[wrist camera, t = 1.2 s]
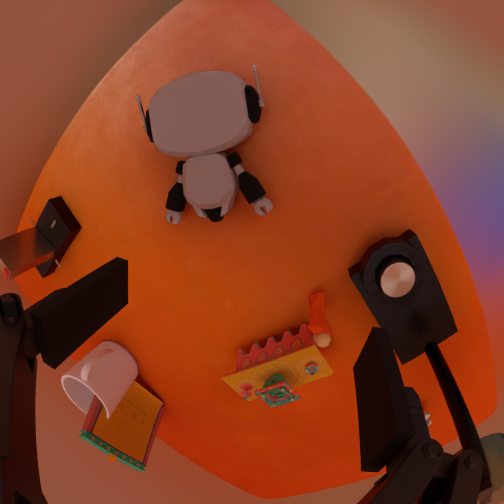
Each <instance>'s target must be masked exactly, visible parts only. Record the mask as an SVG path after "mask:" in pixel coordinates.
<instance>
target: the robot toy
mask: <svg viewBox="0 0 504 504" xmlns="http://www.w3.org/2000/svg"><path fill="white" fill-rule="evenodd" d="M253 71H254V73H255V78H256V83H257V88H258V93H259V95H258V93H257V92H256V90H255V89H254V88H253V87H252V86H249V85H247V84H246V83H245V81H244V80H243V79H242V78H240V77H239V76H237V75H235V74H232V73H230V72H226V71H202V72H193V73H189V74H186V75H184V76H182V77H180V78H177V79H175V80H173V81H171V82H169V83H168V84H166V85H165V86H163V87H162V88H160V89H159V90H158V91H157V92H156V93H155V95H154V96H153V97H152V98H151V101H150V104H149V107H148V110H147V111H146V118H145V115H144V111H143V108H142V104H141V98H140V96H139V95H138V94H137V95H136V100H137V102H138V105H139V108H140V112H141V115H142V119H143V122H144V125H145V126H143V127H144V130H145V132H146V131H147V135H148V137H149V139H150V141H151V142H153V143H155V145H156V147H157V148H158V150H159V151H160V152H162V153H164V154H166V155H169V156H174V157H193V158H189V159H188V160H187V161H186V162H185V161H179V162H178V163H177V168H176V173H177V174H179V175H178V180H177V182H176V184H175V185H174V186H173V187H172V189H171V190H170V191H169V193H168V198H167V203H166V208H167V209H168V211H167V212H166V220H167V221H168V222H169V223H171V222H172V218H173V217H174V221H173V224H178V223H180V221H181V219H182V215H181V211H184V209H185V205H186V201H187V202H188V203H190V204H191V205H192V206H193V208H194V210H195V211H196V213H197V215H198V216H200V217H203V218H205V219H206V218H207V217H209V219H210V220H211V221H213V222H218V221H221V220H222V219H223V217H224V214H226V213H227V212H228V211H229V210H230V209H231V208H232V207H233V205H234V200H235V196H236V194H237V193H238V191H239V188H240V190H241V192H242V193H243V195H244V196H245V198H246V199H247V201H248V203H249V204H251V203H253V204H254V211H255V212H256V213H257V214H258V215H261V216H264V215H266V212H265V211H264V210H263V208H262V206H265V208H266V209H267V211H268V213H269V212H271V211H272V209H273V205H272V203H271V200H269V199H267V198H266V197H264V195H265V194H266V192H265V191H264V189H263V187H262V186H261V184H260V183H259V181H258V180H257V178H256V177H254V176H252V175H251V174H249V173H248V172H246V171H244V169H243V168H242V166H241V165H240V163H241V162H242V159H241V158H240V156H239V155H238V153H237V152H233V153H232V154H230V155H228V154H226V153H224V152H221V151H224V150H227V149H230V148H232V147H234V146H236V145H239V144H240V143H242V142H244V141H245V140H246V139H247V138H248V137H249V136H250V135H251V134H252V131H253V127H254V124H255V123H257V122H259V119H260V116H261V111H262V110H261V107H262V106H264V99H262V95H261V90H260V85H259V80H258V75H257V67H256V65H255V64H253ZM218 152H220V153H218ZM237 174H238V175H237Z"/></svg>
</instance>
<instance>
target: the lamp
mask: <svg viewBox="0 0 504 504" xmlns="http://www.w3.org/2000/svg"><path fill="white" fill-rule="evenodd" d="M425 352H426V355H427V357H428V359H429V361H430V364H431V366H432V368H433V371H434V373H435V375H436V378H437V380H438V383H439V385H440V387H441V390H442V392H443V395H444V398H445V400H446V403H447V405H448V408H449V411H450V413H451V416H452V419H453V422H454V425H455V428H456V431H457V434H458V437H459V440H460V443H461V446H462V449H461V450H460V451H458V452H457V453H456V454H454V455H455V456H459V455H460V454H461V453H462V452H463V451H464V450H468V449H470V450H474V451H475V452H477V453H478V454H479V455H480V457H481V459H482V463H483V468H482V476H481V483H480V490H479V495H478V501H477V504H499V503H500V502H502V501H503V500H504V434H502V433H495V434H491V435H488V436H485V437H483V438H481V439H480V438H479V436H478V433H477V430H476V428H475V425H474V423H473V420H472V418H471V415H470V413H469V410H468V408H467V406H466V403H465V401H464V399H463V396H462V394H461V392H460V390H459V388H458V385H457V383H456V381H455V379H454V377H453V375H452V373H451V371H450V369H449V366H448V364H447V362H446V360H445V358H444V356H443V355H442V353H441V351H440V349H439V347H438V345H437V343H436V342H434V341H432V342H429V343H428V344H427V345H426V346H425Z"/></svg>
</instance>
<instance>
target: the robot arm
mask: <svg viewBox="0 0 504 504" xmlns="http://www.w3.org/2000/svg"><path fill="white" fill-rule="evenodd" d="M127 304H128V260H125V259H122V258H119V257H116V258H114V259H113V260H111V261H109V262H108V263H106V264H104V265H103V266H101V267H99V268H98V269H96V270H94V271H93V272H91V273H89V274H88V275H86V276H85V277H83V278H81V279H80V280H78V281H76V282H75V283H73V284H72V285H70V286H69V287H67V288H62V289H58V290H55V291H54V292H52V293H51V294H49V295H48V296H46V297H44V298H43V299H42V300H40V301H38V302H37V303H35V304H34V305H32V306H31V307H29V308H28V309H26V310H24V311H23V306H22V302H21V298H20V297H19V295H17V294H15V293H6V294H4V295H1V296H0V504H48V503H47V501H46V499H45V497H44V495H43V493H42V489H41V484H40V477H39V469H38V460H37V447H36V426H35V395H36V394H35V393H36V374H37V358H36V356H37V355H38V354H39V353H41V356H42V359H43V362H44V363H46V364H47V365H49V366H50V367H51V368H53V369H56V368H57V367H58V366H59V365H60V364H61V363H62V362H63V361H64V360H65V359H66V358H67V357H69V356H70V355H71V354H72V353H73V352H74V351H75V350H76V349H77V348H78V347H80V346H81V345H82V344H83V343H84V342H85V341H86V340H87V339H88V338H89V337H91V336H92V335H93V334H94V333H95V332H96V331H97V330H98V329H100V328H101V327H102V326H103V325H104V324H105V323H106V322H107V321H109V320H110V319H111V318H112V317H113V316H114V315H115V314H117V313H118V312H119V311H120V310H121V309H122V308H123V307H125V306H126V305H127ZM353 370H354V379H355V388H356V398H357V409H358V421H359V436H360V454H361V471H364V472H379V471H380V470H381V469H382V468H383V467H384V466H385V465H386V470H387V473H386V474H385V475H384V476H382V477H381V478H380V479H379V480H378V481H377V482H375V483H374V485H375V486H374V487H373V488H372V489H371V490H370V491H369V492H368V493H367V494H366V495H365V496H364V497H363V498H362V499H361V500H360V501H359V502H358V503H357V504H415V503H416V504H477V501H478V495H479V490H480V483H481V476H482V468H483V463H482V459H481V457H480V455H479V454H478V453H477V452H475V451H474V450H470V449H468V450H464V451H463V452H462V453H461V454H460V455H459V456H455V455H452V454H448V453H445V452H444V451H443V448H442V446H441V444H440V443H438V442H437V441H436V440H434V439H432V438H430V434H429V430H428V426H427V423H426V419H425V415H424V414H423V409H422V406H421V402H420V399H419V396H418V394H417V393H416V392H415V390H414V389H413V388H412V387H404V384H403V380H402V377H401V373H400V370H399V367H398V364H397V360H396V357H395V354H394V351H393V348H392V345H391V342H390V339H389V336H388V333H387V330H386V329H382V328H377V327H373V328H372V330H371V332H370V334H369V336H368V339H367V341H366V343H365V345H364V347H363V349H362V351H361V353H360V355H359V357H358V359H357V361H356V363H355V365H354V367H353Z"/></svg>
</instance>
